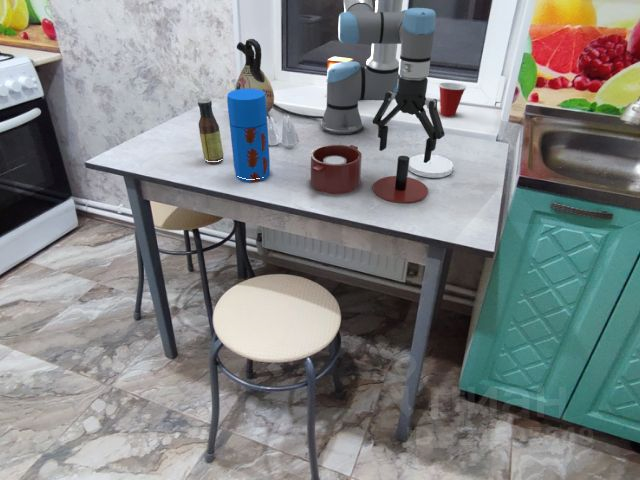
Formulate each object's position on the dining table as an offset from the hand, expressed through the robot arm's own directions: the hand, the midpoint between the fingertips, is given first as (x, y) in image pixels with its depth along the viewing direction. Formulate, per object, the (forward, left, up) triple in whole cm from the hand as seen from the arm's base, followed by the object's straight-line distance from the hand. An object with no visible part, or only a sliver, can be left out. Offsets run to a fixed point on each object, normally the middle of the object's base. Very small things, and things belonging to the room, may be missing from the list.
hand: (404, 155), depth 132 cm
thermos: (-42, -17, -12) cm, 47 cm away
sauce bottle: (-59, -17, -12) cm, 63 cm away
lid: (0, 0, -11) cm, 11 cm away
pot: (-18, -7, -12) cm, 23 cm away
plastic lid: (+1, +18, -12) cm, 22 cm away
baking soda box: (-64, +65, -11) cm, 92 cm away
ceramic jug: (-75, +22, -12) cm, 79 cm away
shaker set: (-49, +6, -12) cm, 51 cm away
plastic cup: (-15, +71, -12) cm, 74 cm away
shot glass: (-19, -7, -11) cm, 23 cm away
